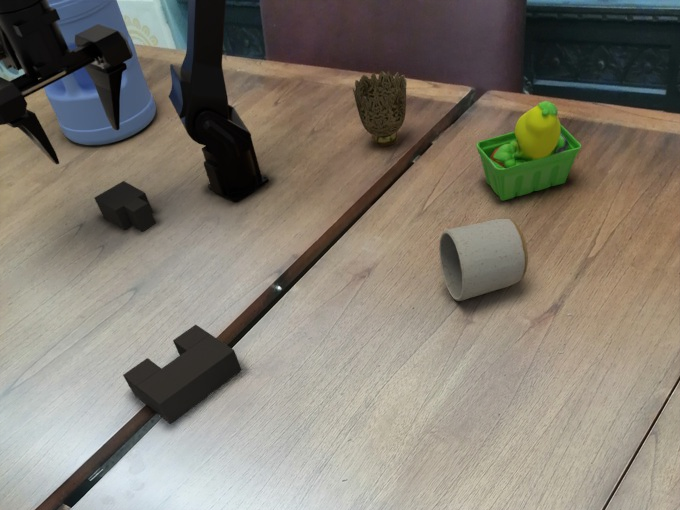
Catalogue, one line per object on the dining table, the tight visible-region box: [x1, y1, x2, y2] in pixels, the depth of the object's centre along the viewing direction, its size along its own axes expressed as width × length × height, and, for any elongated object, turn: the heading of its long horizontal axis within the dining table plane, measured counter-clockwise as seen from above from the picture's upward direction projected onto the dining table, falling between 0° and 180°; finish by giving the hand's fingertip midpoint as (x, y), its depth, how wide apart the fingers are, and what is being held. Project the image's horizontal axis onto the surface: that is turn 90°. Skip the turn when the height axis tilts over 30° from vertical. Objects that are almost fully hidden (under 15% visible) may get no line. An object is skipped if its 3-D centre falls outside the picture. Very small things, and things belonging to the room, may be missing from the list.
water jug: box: [43, 0, 157, 146], centre depth 103 cm, size 16×16×28 cm
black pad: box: [93, 180, 157, 232], centre depth 96 cm, size 5×8×3 cm, turn 46°
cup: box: [352, 70, 408, 147], centre depth 98 cm, size 8×7×8 cm
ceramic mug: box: [438, 218, 529, 302], centre depth 78 cm, size 11×8×8 cm
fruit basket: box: [476, 100, 582, 202], centre depth 86 cm, size 11×9×11 cm
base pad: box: [122, 324, 242, 424], centre depth 75 cm, size 10×7×3 cm
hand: (87, 145), depth 87 cm, fingers open, 9 cm apart
